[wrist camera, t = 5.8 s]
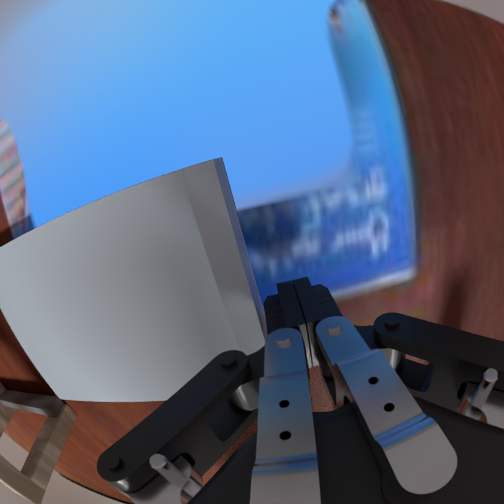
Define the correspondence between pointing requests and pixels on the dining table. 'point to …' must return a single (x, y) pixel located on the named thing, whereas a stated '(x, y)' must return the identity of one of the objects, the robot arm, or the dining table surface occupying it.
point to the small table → (45, 446)
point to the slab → (135, 289)
